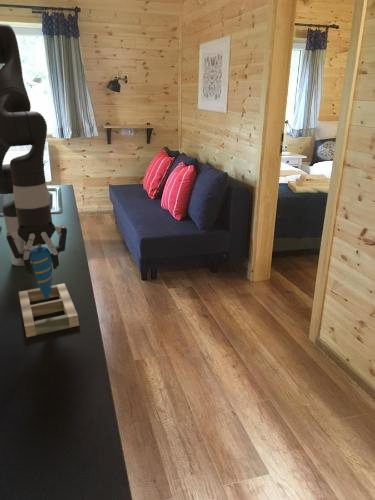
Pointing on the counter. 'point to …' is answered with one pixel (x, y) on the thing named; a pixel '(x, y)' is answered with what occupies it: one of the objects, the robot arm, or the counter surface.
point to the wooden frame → (47, 311)
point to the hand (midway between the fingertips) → (42, 269)
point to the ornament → (42, 268)
